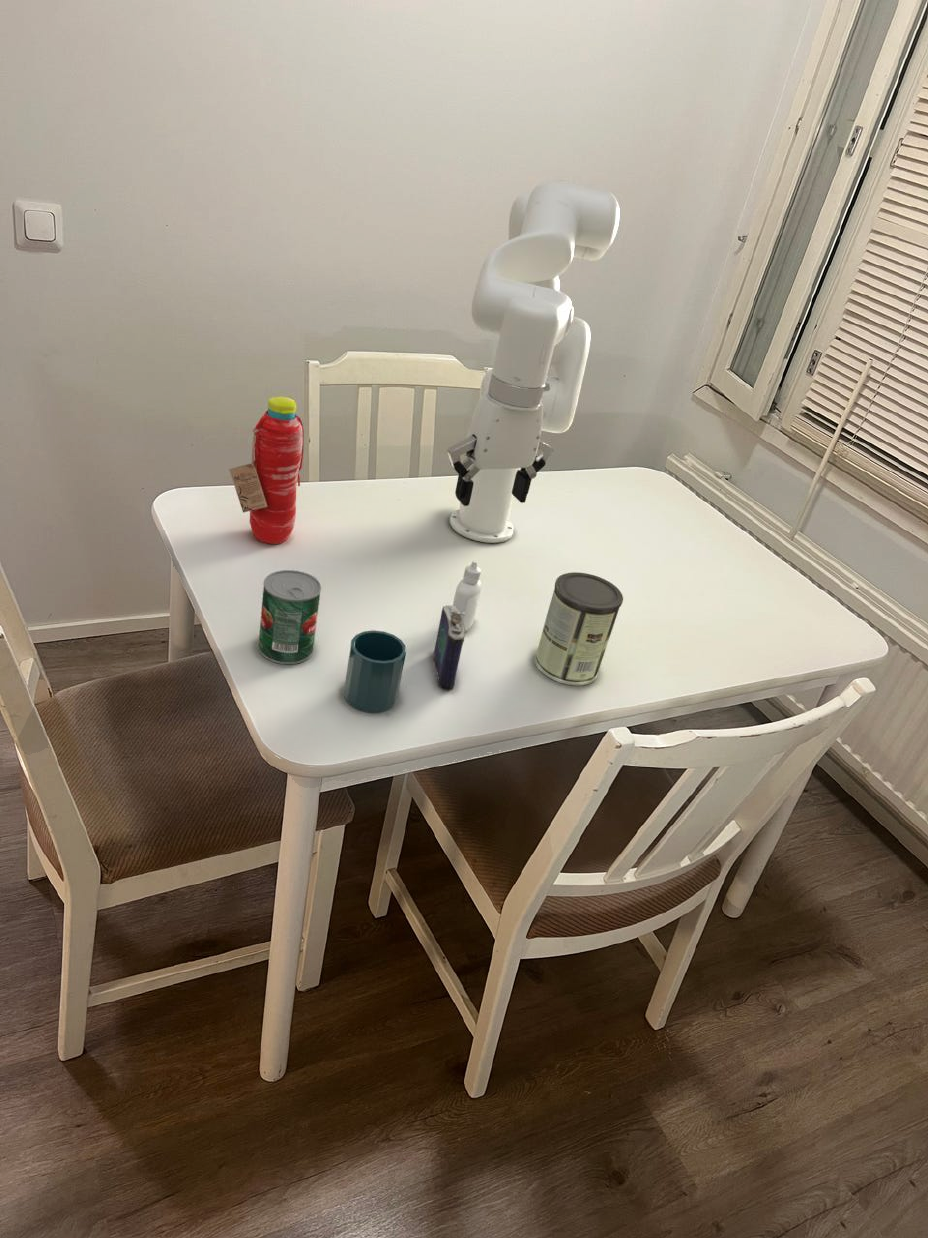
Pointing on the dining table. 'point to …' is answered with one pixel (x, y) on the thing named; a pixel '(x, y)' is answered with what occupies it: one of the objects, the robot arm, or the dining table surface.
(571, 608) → the coffee can
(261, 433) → the water bottle
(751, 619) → the dining table surface
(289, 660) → the canned tomato
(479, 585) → the eye dropper bottle
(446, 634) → the flask
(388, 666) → the teal cup
